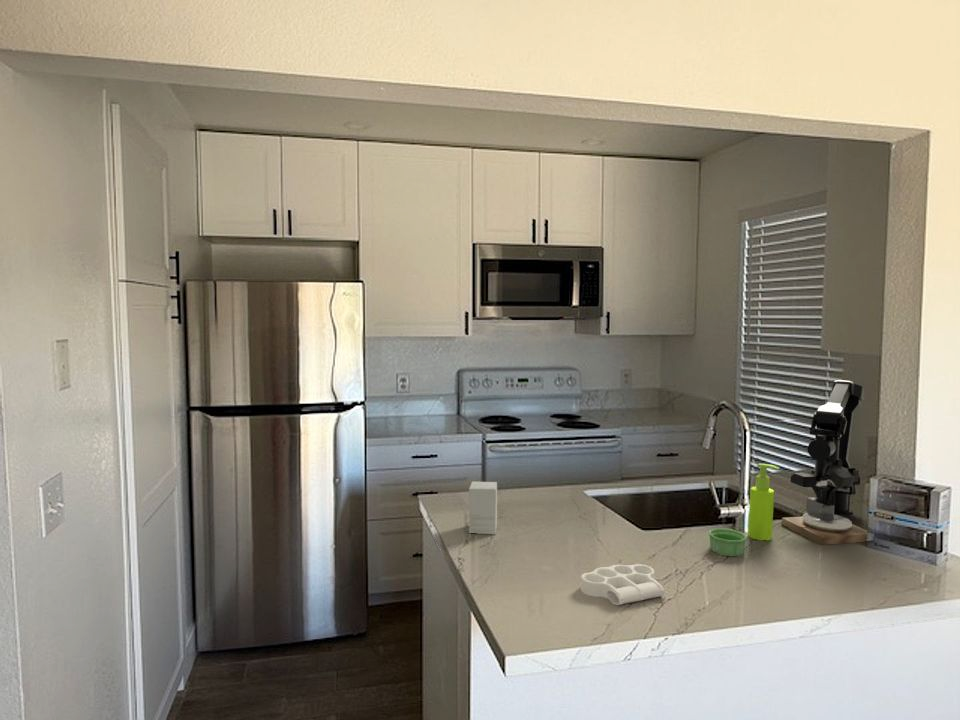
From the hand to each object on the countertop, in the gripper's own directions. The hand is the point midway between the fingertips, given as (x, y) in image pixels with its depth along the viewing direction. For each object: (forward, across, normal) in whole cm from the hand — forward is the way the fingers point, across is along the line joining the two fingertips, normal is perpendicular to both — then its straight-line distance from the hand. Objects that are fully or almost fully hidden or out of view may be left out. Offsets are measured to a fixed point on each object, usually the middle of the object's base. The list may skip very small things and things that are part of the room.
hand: (823, 508), depth 187 cm
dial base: (+5, -3, -5) cm, 8 cm away
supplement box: (+6, -96, +15) cm, 97 cm away
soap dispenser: (+6, -23, -5) cm, 24 cm away
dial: (+3, -3, -4) cm, 6 cm away
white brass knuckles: (+6, -74, -27) cm, 79 cm away
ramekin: (+6, -38, -12) cm, 40 cm away
